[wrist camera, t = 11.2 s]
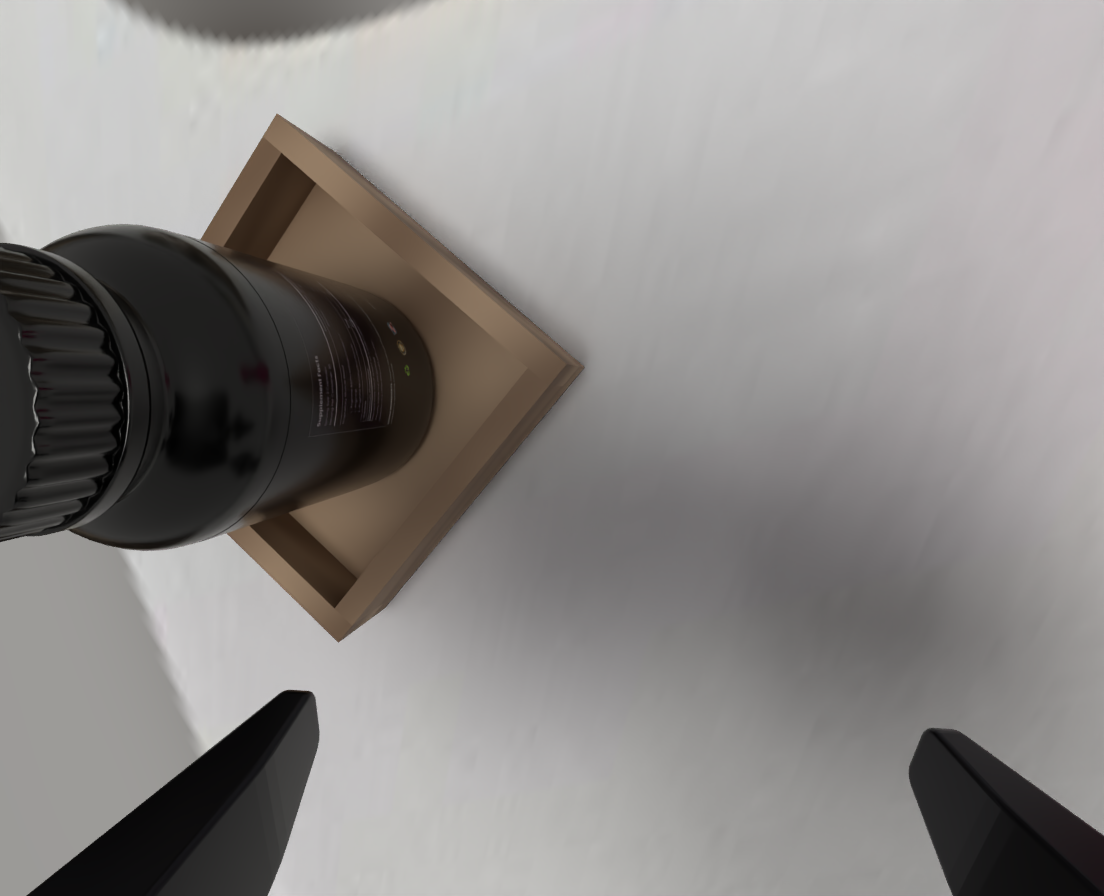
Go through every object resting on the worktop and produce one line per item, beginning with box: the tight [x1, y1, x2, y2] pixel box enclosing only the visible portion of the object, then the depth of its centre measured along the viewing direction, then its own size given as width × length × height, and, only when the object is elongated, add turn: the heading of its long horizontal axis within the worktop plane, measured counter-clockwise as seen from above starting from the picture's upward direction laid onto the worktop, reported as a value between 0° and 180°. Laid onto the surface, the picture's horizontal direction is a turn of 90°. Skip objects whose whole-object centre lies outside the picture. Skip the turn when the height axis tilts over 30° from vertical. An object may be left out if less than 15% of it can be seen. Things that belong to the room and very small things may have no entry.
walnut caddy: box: [201, 114, 584, 642], centre depth 20 cm, size 12×12×3 cm
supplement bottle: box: [0, 224, 433, 551], centre depth 15 cm, size 7×7×12 cm
